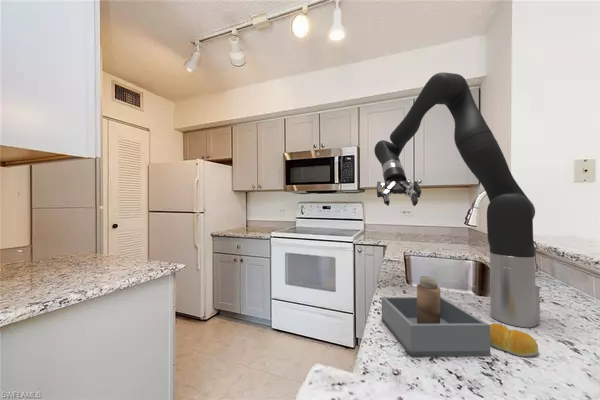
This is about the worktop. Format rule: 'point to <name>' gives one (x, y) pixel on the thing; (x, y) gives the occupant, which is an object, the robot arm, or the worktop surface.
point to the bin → (436, 329)
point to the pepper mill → (428, 301)
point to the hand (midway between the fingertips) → (401, 203)
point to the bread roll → (512, 341)
